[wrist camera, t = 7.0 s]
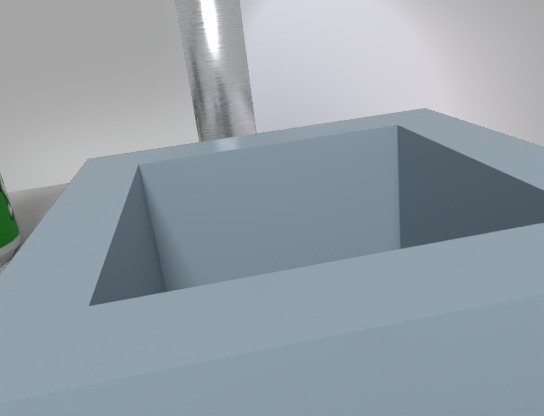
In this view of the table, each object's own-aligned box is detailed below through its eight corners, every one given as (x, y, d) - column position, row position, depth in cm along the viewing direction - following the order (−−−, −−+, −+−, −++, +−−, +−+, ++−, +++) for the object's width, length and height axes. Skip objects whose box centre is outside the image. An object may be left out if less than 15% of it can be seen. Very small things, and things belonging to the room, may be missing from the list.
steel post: (210, 275, 31) (134, -142, 23) (252, 255, 33) (195, -135, 25) (243, 293, 28) (171, -168, 20) (287, 269, 30) (236, -158, 22)
